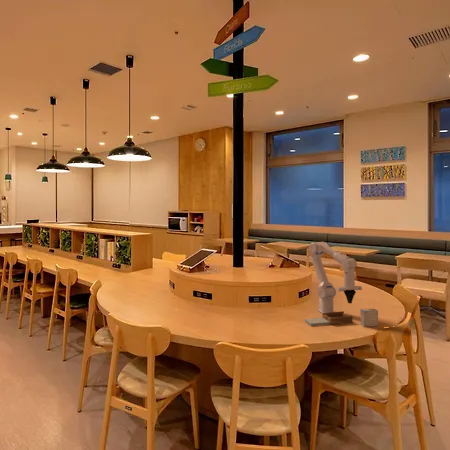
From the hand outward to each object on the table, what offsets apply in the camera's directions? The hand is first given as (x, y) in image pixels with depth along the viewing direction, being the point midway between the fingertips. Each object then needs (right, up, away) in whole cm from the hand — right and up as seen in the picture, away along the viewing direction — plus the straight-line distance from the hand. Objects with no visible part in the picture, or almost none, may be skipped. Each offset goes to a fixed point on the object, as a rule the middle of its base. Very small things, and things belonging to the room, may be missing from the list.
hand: (349, 303), depth 206 cm
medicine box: (+7, -10, -12) cm, 17 cm away
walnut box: (-8, -10, -3) cm, 13 cm away
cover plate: (-20, -11, -5) cm, 24 cm away
